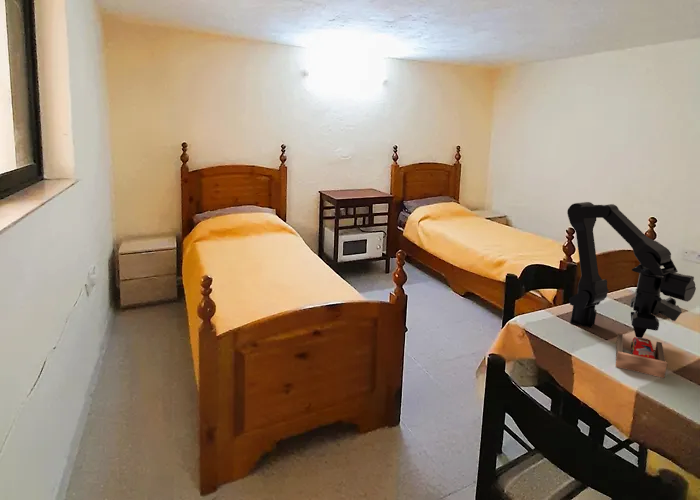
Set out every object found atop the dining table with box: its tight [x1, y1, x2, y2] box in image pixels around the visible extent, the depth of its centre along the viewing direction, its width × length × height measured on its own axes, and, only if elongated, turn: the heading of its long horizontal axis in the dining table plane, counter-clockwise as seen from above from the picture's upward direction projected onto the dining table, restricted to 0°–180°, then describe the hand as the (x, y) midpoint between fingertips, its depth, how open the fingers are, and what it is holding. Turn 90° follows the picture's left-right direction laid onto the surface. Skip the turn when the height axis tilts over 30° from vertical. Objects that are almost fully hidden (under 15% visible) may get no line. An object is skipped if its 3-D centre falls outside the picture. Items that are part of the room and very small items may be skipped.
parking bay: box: [615, 333, 668, 379], centre depth 127 cm, size 11×16×4 cm
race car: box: [630, 336, 656, 359], centre depth 130 cm, size 13×5×4 cm, turn 150°
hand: (638, 339), depth 136 cm, fingers closed
